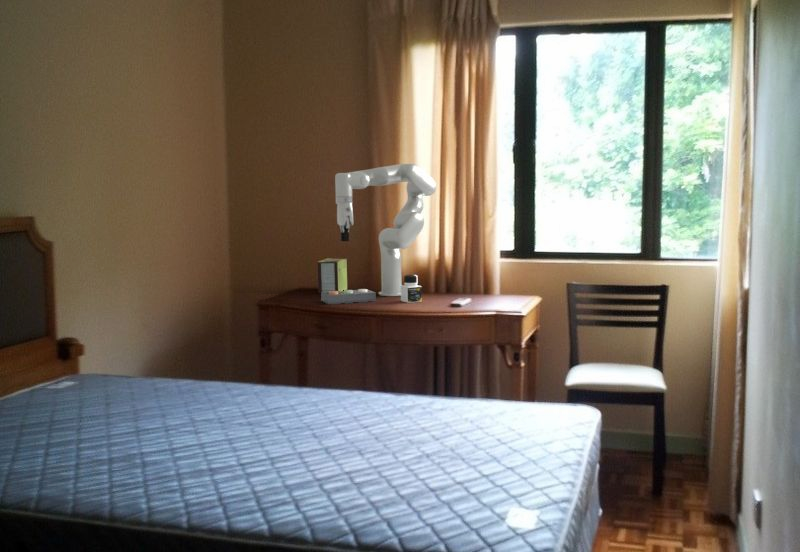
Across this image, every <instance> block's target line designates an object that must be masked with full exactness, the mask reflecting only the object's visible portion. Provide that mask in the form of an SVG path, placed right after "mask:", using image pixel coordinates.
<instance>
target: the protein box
mask: <svg viewBox="0 0 800 552" xmlns="http://www.w3.org/2000/svg"><path fill="white" fill-rule="evenodd" d="M347 263H348V262H347V258H325V259H321V260H319V261H317V279H318V280H317V285H318V294H321V292H329V291H343V290H348V271H347V269H348V267H347V265H348V264H347Z"/></svg>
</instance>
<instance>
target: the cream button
mask: <svg viewBox="0 0 800 552" xmlns="http://www.w3.org/2000/svg"><path fill="white" fill-rule="evenodd" d="M357 290H358V292H368V290H369V289H366V288H359V289H357Z"/></svg>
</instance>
